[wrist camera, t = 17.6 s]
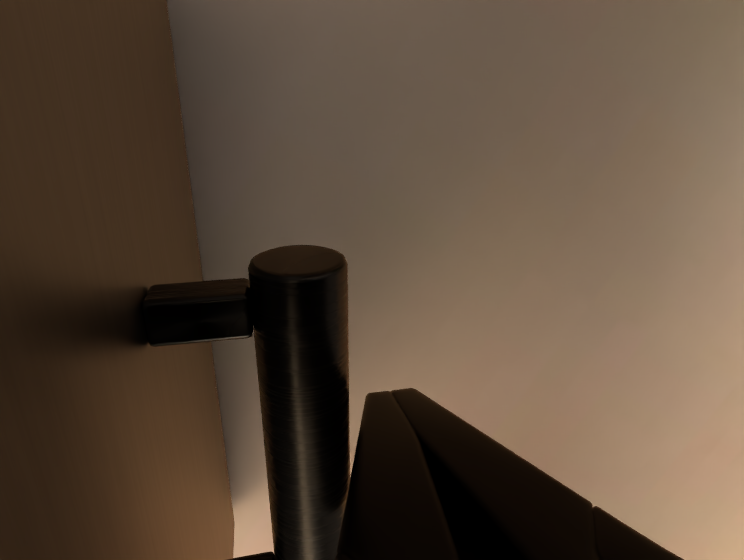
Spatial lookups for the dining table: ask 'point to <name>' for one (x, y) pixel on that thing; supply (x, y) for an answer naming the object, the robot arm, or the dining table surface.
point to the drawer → (142, 315)
